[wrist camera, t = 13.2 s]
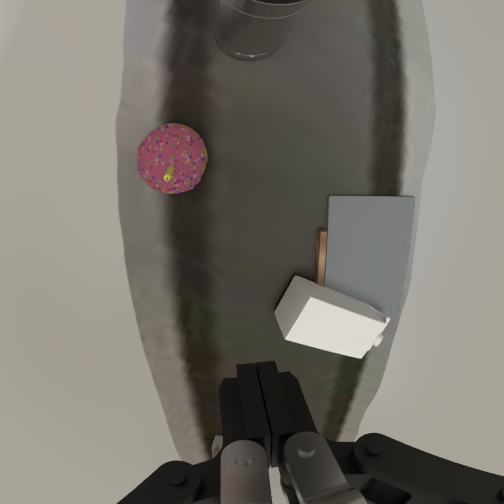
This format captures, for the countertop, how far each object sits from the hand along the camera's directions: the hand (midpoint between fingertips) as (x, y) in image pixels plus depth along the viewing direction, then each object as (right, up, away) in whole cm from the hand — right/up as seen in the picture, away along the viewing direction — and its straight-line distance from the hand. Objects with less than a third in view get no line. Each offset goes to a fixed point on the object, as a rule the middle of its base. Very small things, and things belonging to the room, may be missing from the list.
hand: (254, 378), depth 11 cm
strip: (+10, +2, +34) cm, 35 cm away
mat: (+19, +2, +35) cm, 40 cm away
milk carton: (+5, -2, +30) cm, 31 cm away
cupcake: (-10, +18, +26) cm, 33 cm away
